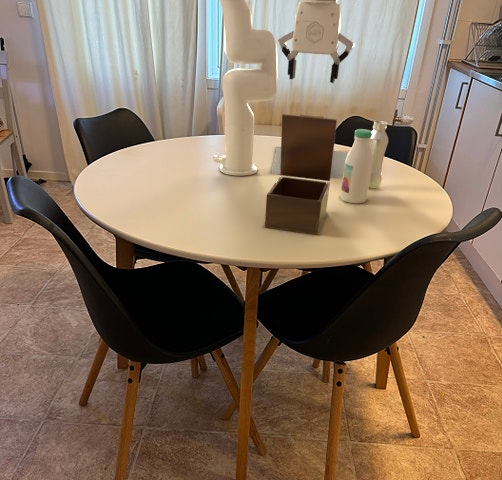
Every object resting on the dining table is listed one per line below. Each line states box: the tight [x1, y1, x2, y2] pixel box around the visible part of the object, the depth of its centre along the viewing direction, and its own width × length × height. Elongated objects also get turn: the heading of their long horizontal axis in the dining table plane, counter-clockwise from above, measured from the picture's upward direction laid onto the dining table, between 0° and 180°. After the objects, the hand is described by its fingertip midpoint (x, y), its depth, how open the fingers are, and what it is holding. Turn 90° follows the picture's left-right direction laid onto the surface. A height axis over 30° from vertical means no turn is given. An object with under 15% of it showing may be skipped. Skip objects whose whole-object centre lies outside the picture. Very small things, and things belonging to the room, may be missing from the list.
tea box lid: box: [279, 113, 338, 182], centre depth 125 cm, size 16×14×6 cm
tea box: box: [264, 175, 331, 236], centre depth 125 cm, size 16×14×9 cm
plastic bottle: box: [369, 120, 389, 189], centre depth 148 cm, size 6×7×20 cm
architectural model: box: [270, 146, 349, 179], centre depth 172 cm, size 35×28×14 cm
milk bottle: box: [340, 128, 373, 204], centre depth 137 cm, size 8×8×20 cm
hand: (312, 80), depth 113 cm, fingers open, 9 cm apart
